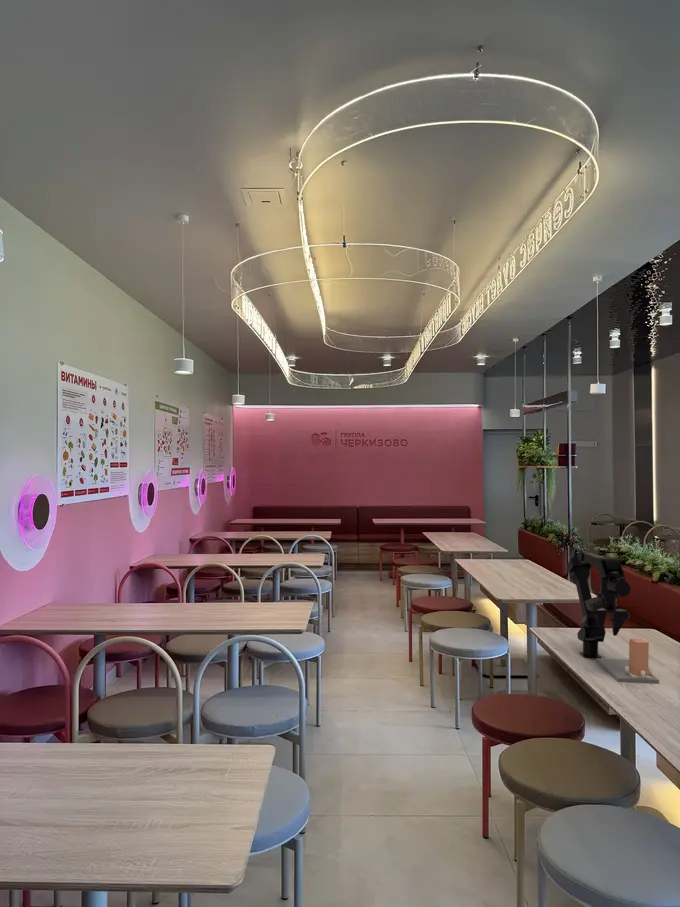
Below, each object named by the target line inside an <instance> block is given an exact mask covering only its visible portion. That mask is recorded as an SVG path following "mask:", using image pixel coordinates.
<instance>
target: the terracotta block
mask: <svg viewBox="0 0 680 907" xmlns="http://www.w3.org/2000/svg"><path fill="white" fill-rule="evenodd" d="M628 643H629V645H628V646H629V647H628V648H629V649H628V660H629V672H630V673H631V674H633V675H635V676H641V671H642V670H643V671H645V676H648V667H649V656H650V655H649V654H650V652H649V649H650V647H649V645H650V643H649V641H647V640H645V639H643V638H629V640H628Z"/></svg>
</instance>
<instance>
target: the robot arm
mask: <svg viewBox="0 0 680 907" xmlns="http://www.w3.org/2000/svg"><path fill="white" fill-rule="evenodd" d="M593 566H594V567H596V570H597V571H598V572H599V573H598V575H597V577H599V578H600V580H599V583H600V584H599V585H600V587H599V592H598V591H597V593H596V596H594V597H592V593H591V589H590V585H589V581H588V580H589V578H590V575H591V572H590V571H591V570H592V568H593ZM566 571H567V572H568V575H569V578H570V579H571V580H572V581H573V582H574V584H575V588H576V591H577V595H578V599H579V603H580V608H581V613H582V620H581V623H580V629H579V630H578V631H577V634H576V635H577V639H578V641H581V642H582V651H579V654H580V655H581V656H582V657H583V658H584V659H585V658H586V659H596V658H602V657H601V656H602V655H601V656H600V655H599V643H604V641H605V637H606V628H605V622H606V618H607V614H608V616H609V617H608V619H609V620H610V621H611V626H612V627H611V629H612V635H613V636H614V637H615V636H616V637H617V635H618V633H619V632H620V631H621V628H622V627H623V625H624V624H625V622H627V621H628V620H629V619H630V617H631V616H630V615H631V614H630V613H629V611H628V610H626V609H623V608H620V606H619V604H618V605H617V601H618V600H617V598H620V597H622V598H624V597H627V596H628V595H629V594H630V593H631V586H630V584H629V582H627V581H626V578H625V577H626V576H625V571H624V569H623V566H622V565H621V562H620V560H619V558H617V557H604V556H602V555H598V554H595V553H593V552H591V551H579V552H577V554H576V555H574V556H573V557H571V558H570V560H569V561H568V563H567V565H566Z"/></svg>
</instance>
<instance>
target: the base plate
mask: <svg viewBox="0 0 680 907" xmlns="http://www.w3.org/2000/svg"><path fill="white" fill-rule="evenodd" d="M595 659H596V660H595V661H596V662H597V664H599V665H600V666H601V667H602V668H603V669H604V670H605V671H606V672H607V673H608V674H609V675H611V677H613V678H614V679H615V680H616V681H617V682H618V683H619V682H626V683H640V684H641V683H642V684H660V679H658V678H657V677H656V676H655V675H653V667H649V666H648V676H645V671H643V670H642V671H641V676H635V675H633V674H631V673H630V672H629V659H627V658H625V659H624V658H623V659H621V658H603V657H601V658H595Z"/></svg>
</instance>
